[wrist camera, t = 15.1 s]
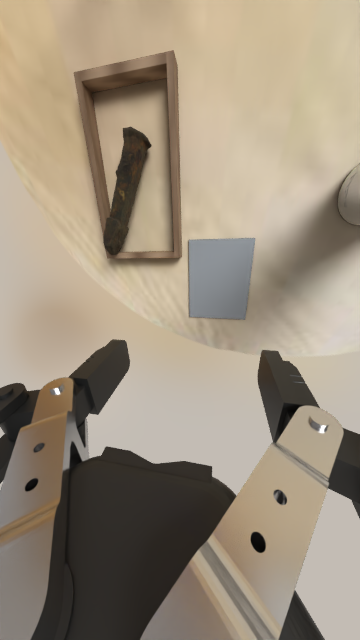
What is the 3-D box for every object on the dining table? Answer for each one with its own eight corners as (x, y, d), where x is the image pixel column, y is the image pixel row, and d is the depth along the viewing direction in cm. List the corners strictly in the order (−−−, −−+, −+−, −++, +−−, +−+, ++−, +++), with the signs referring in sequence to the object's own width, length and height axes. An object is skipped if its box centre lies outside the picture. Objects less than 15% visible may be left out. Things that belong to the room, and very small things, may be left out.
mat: (254, 238, 34) (255, 238, 33) (244, 318, 40) (245, 319, 40) (189, 239, 36) (188, 239, 36) (189, 316, 43) (189, 316, 42)
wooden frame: (177, 65, 27) (173, 50, 25) (181, 256, 37) (179, 257, 35) (84, 84, 30) (73, 72, 27) (113, 257, 40) (107, 258, 38)
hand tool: (132, 136, 31) (118, 117, 27) (154, 146, 31) (144, 128, 26) (104, 249, 38) (90, 248, 33) (122, 257, 38) (110, 257, 33)
